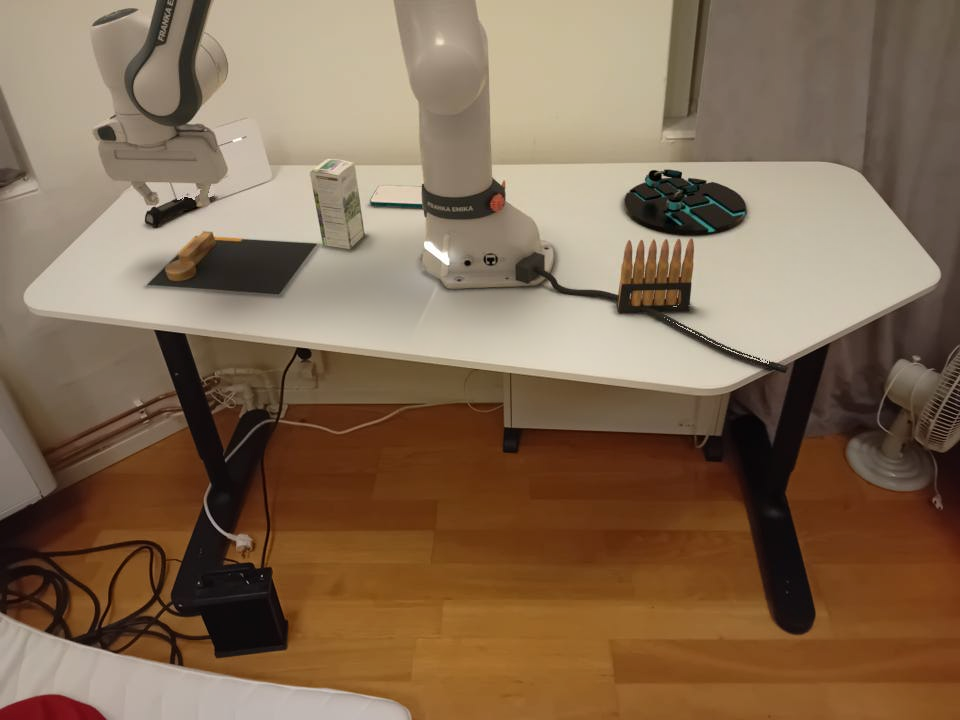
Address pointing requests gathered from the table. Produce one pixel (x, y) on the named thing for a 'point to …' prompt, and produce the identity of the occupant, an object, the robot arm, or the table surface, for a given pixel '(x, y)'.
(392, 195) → the smartphone
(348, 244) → the syrup box
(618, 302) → the ammunition clip
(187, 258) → the orange wooden ladle
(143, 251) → the table surface
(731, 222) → the platform
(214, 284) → the mat
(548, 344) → the table surface
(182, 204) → the electric trimmer
